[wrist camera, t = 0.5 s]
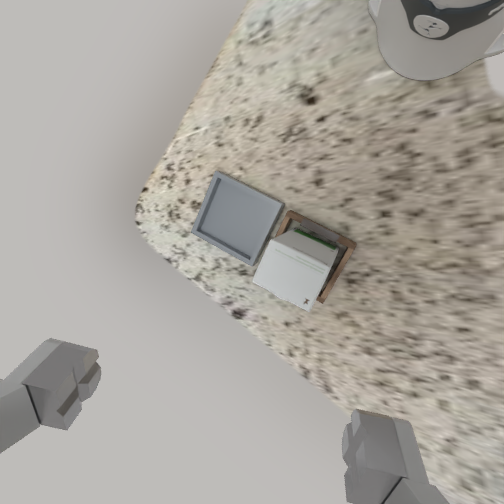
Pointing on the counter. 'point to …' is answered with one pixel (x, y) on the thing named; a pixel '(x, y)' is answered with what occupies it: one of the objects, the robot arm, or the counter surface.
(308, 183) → the counter surface
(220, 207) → the slate tray
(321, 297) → the walnut caddy
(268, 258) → the skincare box
